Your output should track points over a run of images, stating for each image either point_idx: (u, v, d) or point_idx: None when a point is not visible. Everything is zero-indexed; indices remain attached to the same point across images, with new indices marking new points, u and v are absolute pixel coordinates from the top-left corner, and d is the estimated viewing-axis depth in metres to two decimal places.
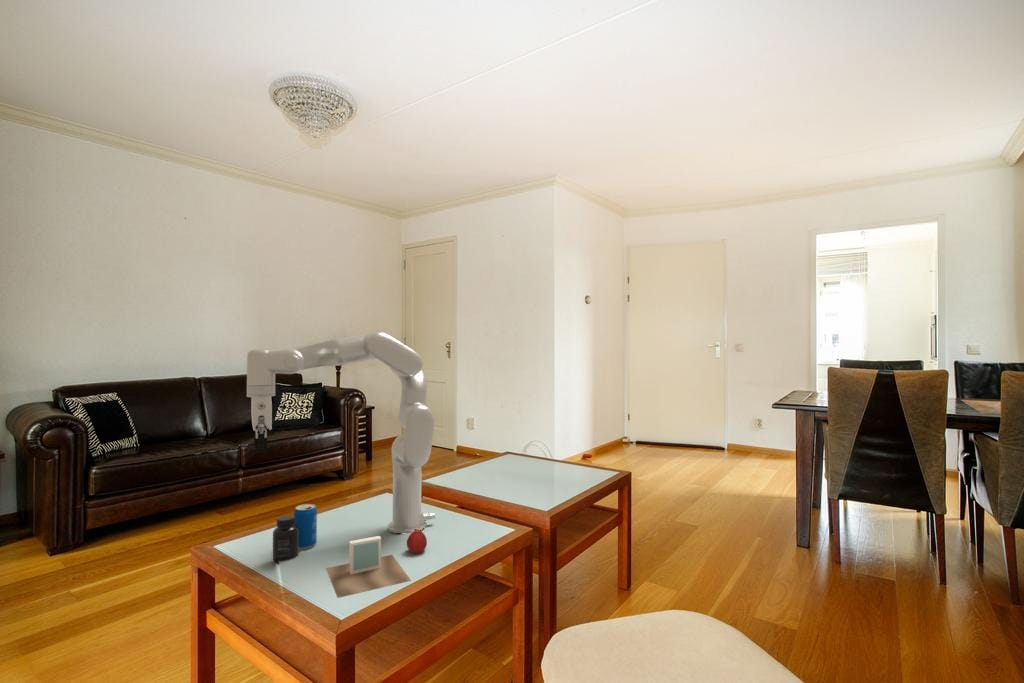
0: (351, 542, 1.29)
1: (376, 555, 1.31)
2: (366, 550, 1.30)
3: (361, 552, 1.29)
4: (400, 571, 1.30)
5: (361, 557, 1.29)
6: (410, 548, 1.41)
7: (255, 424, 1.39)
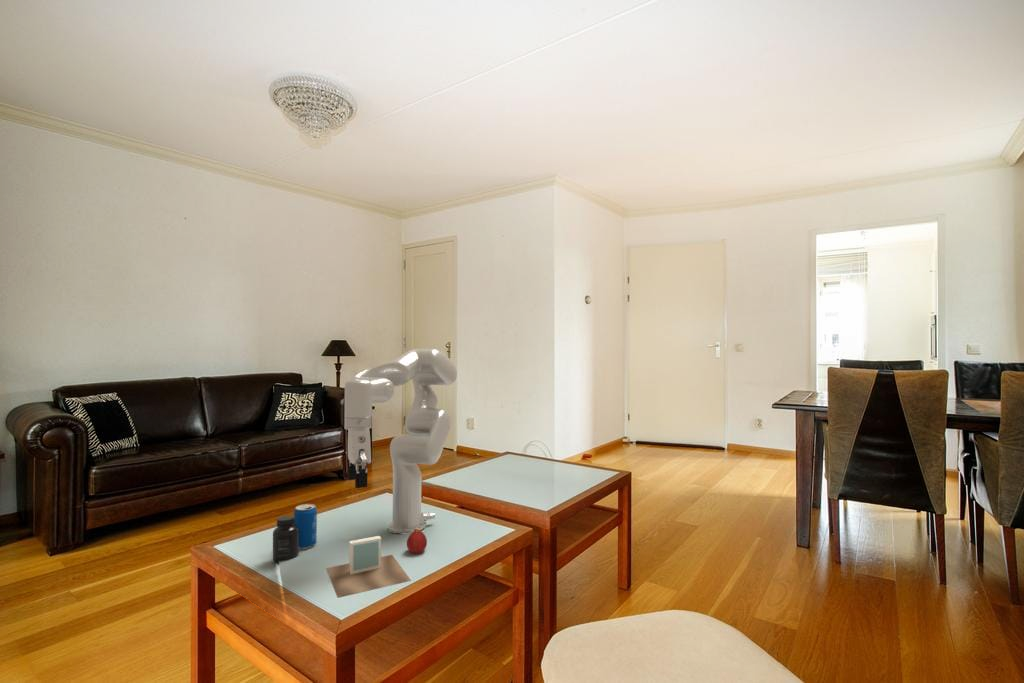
0: (351, 542, 1.29)
1: (376, 555, 1.31)
2: (366, 550, 1.30)
3: (361, 552, 1.29)
4: (400, 571, 1.30)
5: (361, 557, 1.29)
6: (410, 548, 1.41)
7: (356, 458, 1.34)
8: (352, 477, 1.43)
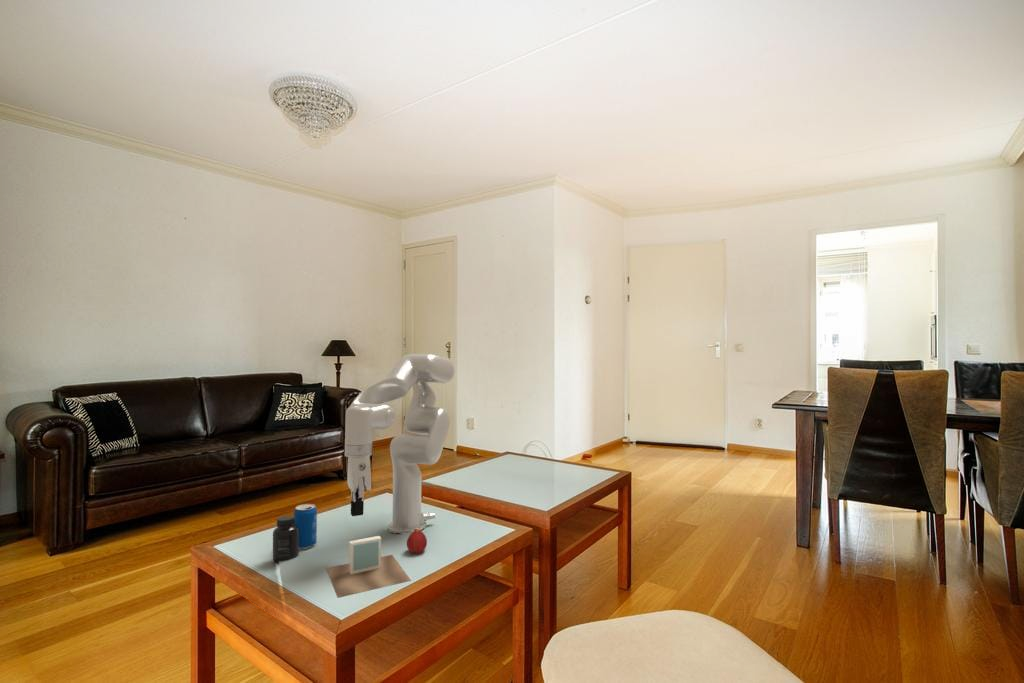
0: (351, 542, 1.29)
1: (376, 555, 1.31)
2: (366, 550, 1.30)
3: (361, 552, 1.29)
4: (400, 571, 1.30)
5: (361, 557, 1.29)
6: (410, 548, 1.41)
7: None
8: None
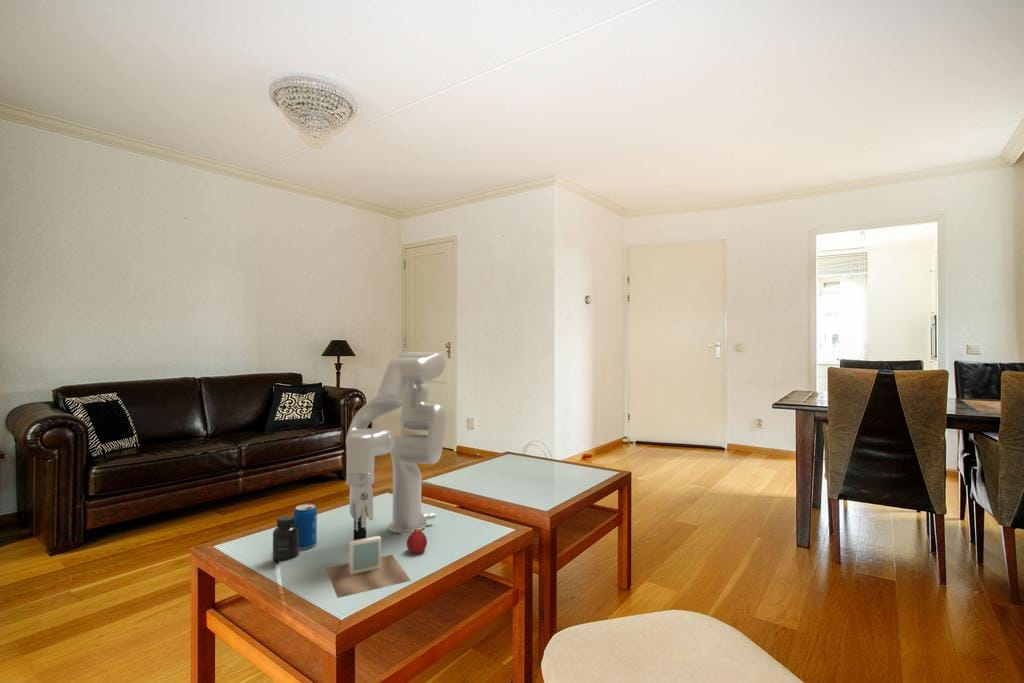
0: (351, 542, 1.29)
1: (376, 555, 1.31)
2: (366, 550, 1.30)
3: (361, 552, 1.29)
4: (400, 571, 1.30)
5: (361, 557, 1.29)
6: (410, 548, 1.41)
7: (357, 521, 1.33)
8: None
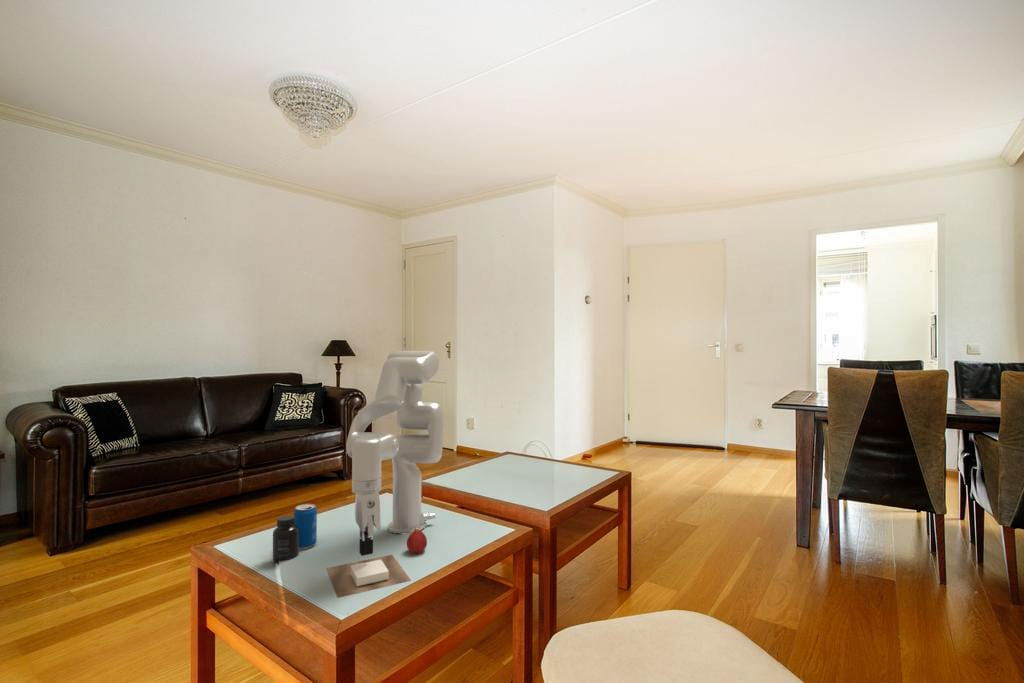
0: (358, 582, 1.21)
1: None
2: None
3: None
4: (400, 571, 1.30)
5: None
6: (410, 548, 1.41)
7: None
8: None
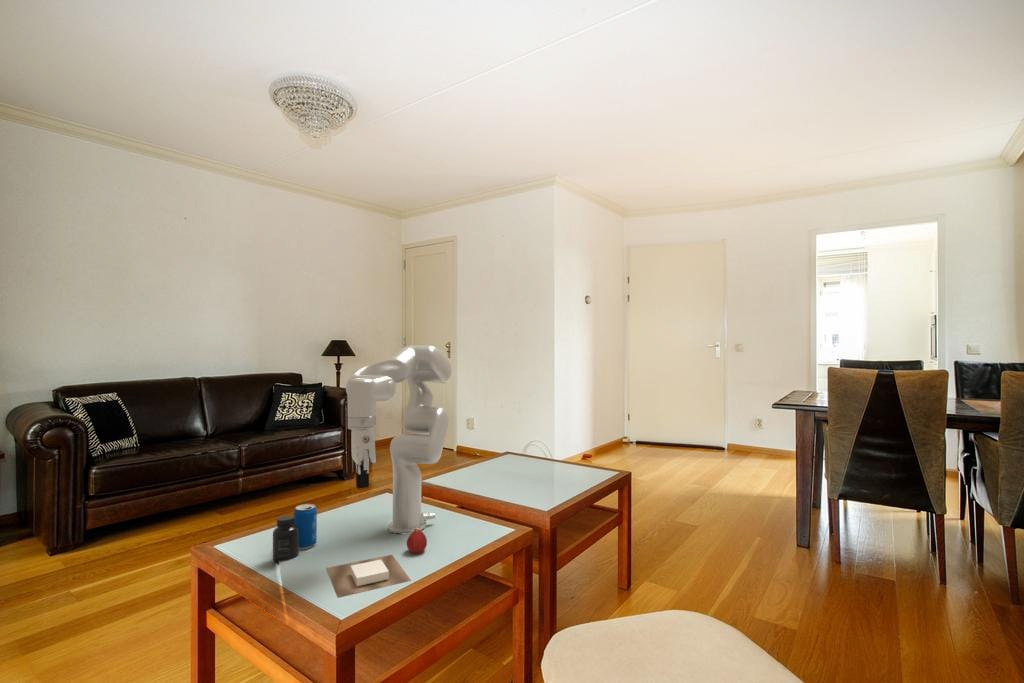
0: (358, 582, 1.21)
1: None
2: None
3: None
4: (400, 571, 1.30)
5: None
6: (410, 548, 1.41)
7: (359, 465, 1.33)
8: None
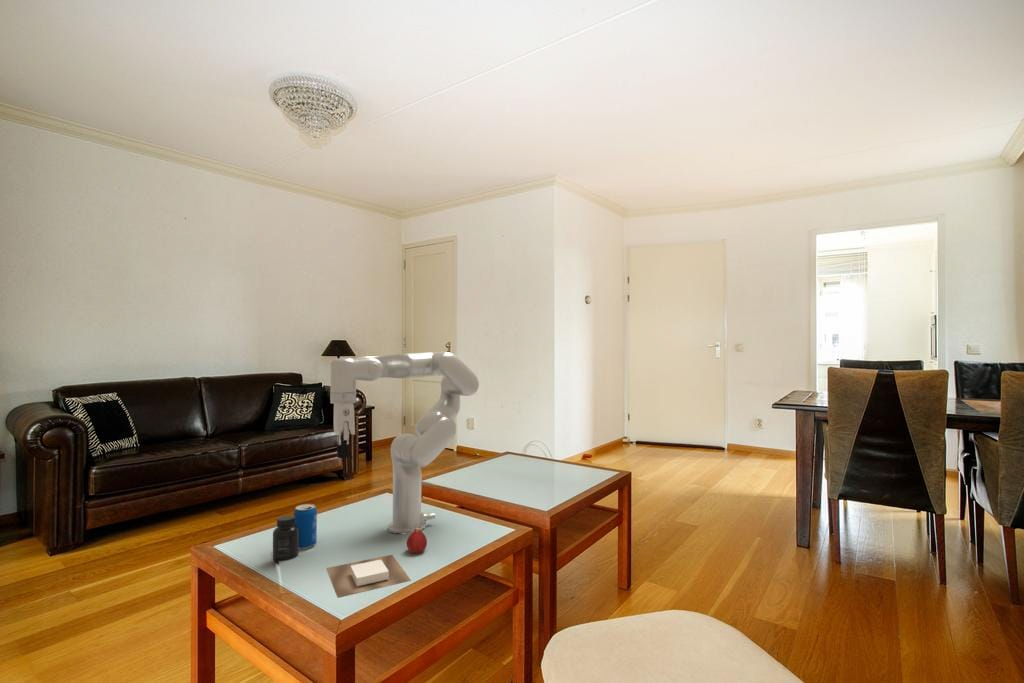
0: (358, 582, 1.21)
1: None
2: None
3: None
4: (400, 571, 1.30)
5: None
6: (410, 548, 1.41)
7: (339, 435, 1.47)
8: None
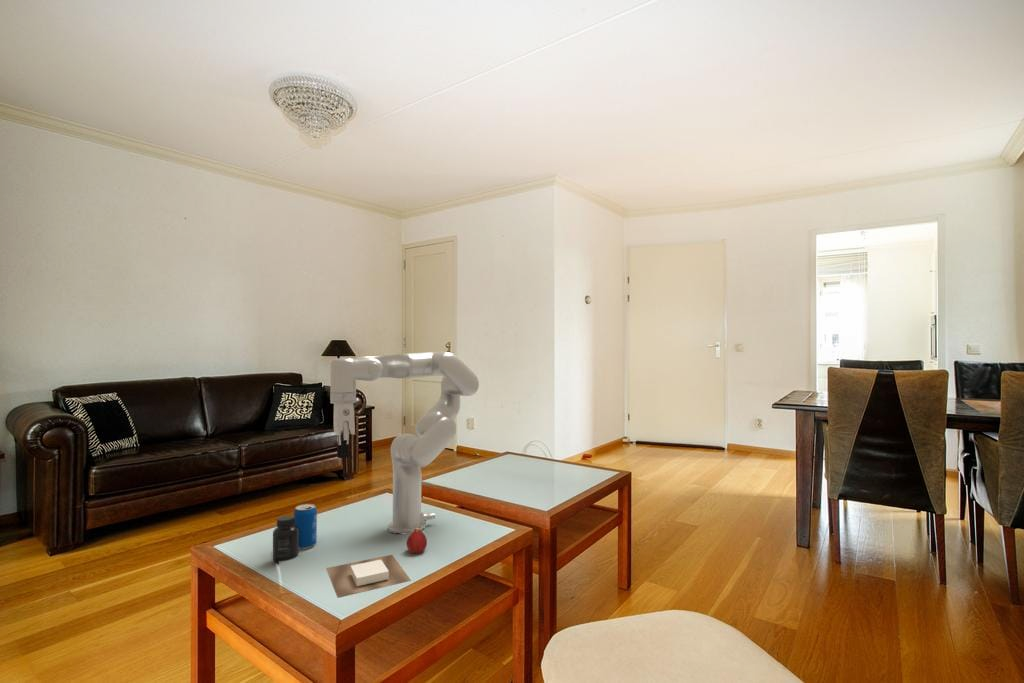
0: (358, 582, 1.21)
1: None
2: None
3: None
4: (400, 571, 1.30)
5: None
6: (410, 548, 1.41)
7: (339, 435, 1.47)
8: None
